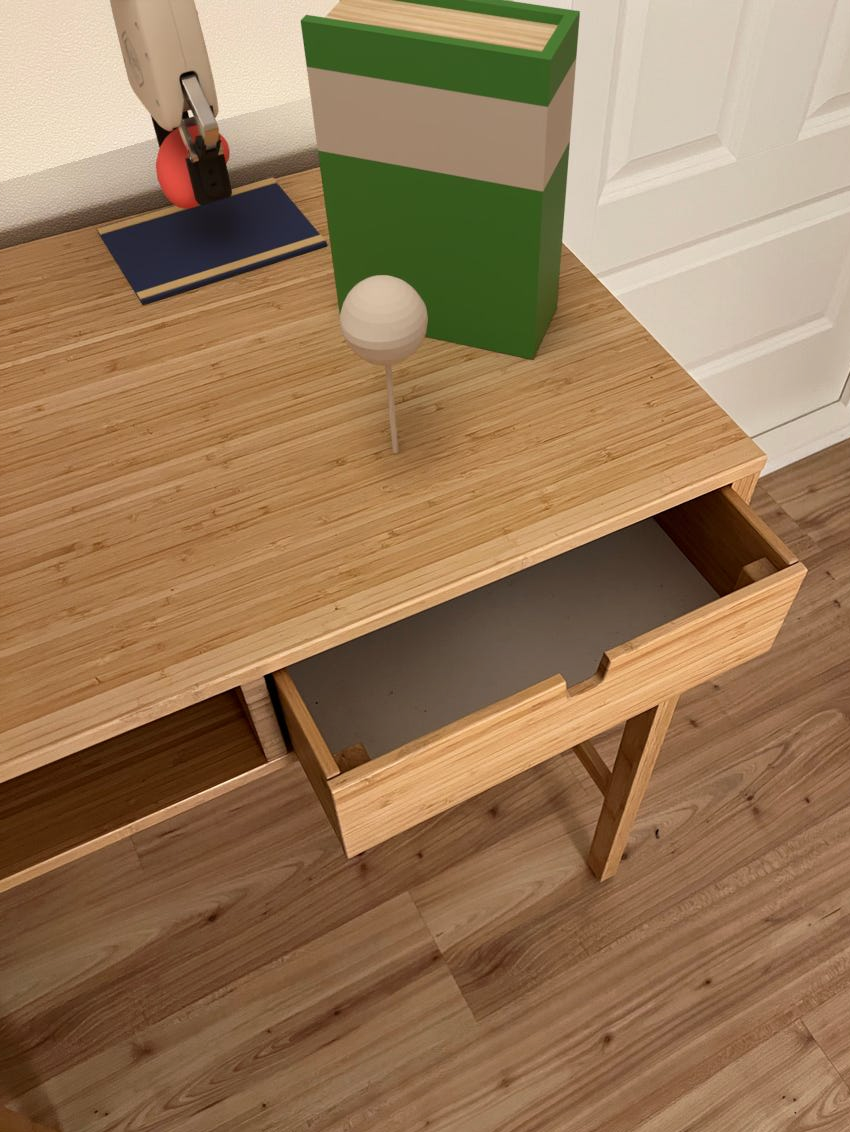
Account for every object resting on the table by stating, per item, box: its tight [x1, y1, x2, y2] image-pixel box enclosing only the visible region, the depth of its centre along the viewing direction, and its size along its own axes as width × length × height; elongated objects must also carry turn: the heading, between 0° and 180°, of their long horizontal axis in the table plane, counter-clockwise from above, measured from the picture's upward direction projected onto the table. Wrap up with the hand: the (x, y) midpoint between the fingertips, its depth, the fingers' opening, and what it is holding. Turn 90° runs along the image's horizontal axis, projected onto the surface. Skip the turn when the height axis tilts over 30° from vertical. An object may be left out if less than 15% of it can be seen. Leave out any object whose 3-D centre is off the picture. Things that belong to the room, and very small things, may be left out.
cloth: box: [96, 176, 328, 306], centre depth 94 cm, size 18×13×1 cm
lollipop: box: [339, 275, 428, 454], centre depth 71 cm, size 6×6×15 cm
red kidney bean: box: [155, 126, 231, 209], centre depth 88 cm, size 5×9×6 cm, turn 157°
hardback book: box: [300, 0, 581, 361], centre depth 78 cm, size 18×7×24 cm, turn 72°
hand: (196, 174), depth 89 cm, fingers closed on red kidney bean, 8 cm apart
